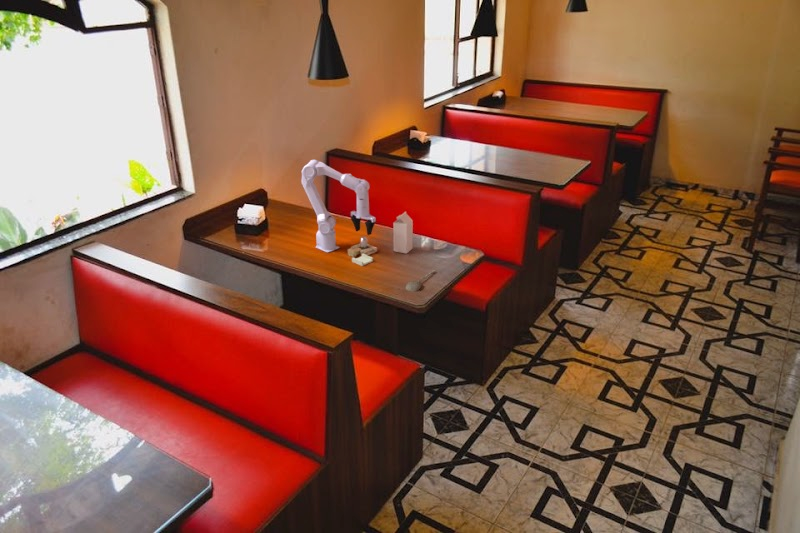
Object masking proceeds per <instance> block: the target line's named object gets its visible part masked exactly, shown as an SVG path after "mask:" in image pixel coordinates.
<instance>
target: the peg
mask: <svg viewBox="0 0 800 533" xmlns="http://www.w3.org/2000/svg"><path fill="white" fill-rule="evenodd" d="M360 243H361V249H362V250H365V249H367V244H368V237H367V236H361V237H360Z"/></svg>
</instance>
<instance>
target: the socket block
mask: <svg viewBox="0 0 800 533" xmlns="http://www.w3.org/2000/svg"><path fill="white" fill-rule="evenodd" d="M350 248H352V249H354V250H355V249H357V248H361V242H360V243H358V244H357V243H356V244H355V245H352V246H350ZM376 252H378V247H376V246H374V245H371V244H369V243H367V249H365V250H360V254H359V255H360V256H362V254H365V255H368V256H370V255H371V254H375V253H376Z"/></svg>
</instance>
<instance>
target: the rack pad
mask: <svg viewBox="0 0 800 533" xmlns="http://www.w3.org/2000/svg"><path fill="white" fill-rule="evenodd" d="M351 262H352V263H353V264H357V265H359V266H361V267H363V266H365V265H369V264H371V263H372V262H374V258H373V257H372V256H370V255H365V254H362V255H360V256H359V257H357V258H355V257H351Z"/></svg>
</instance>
